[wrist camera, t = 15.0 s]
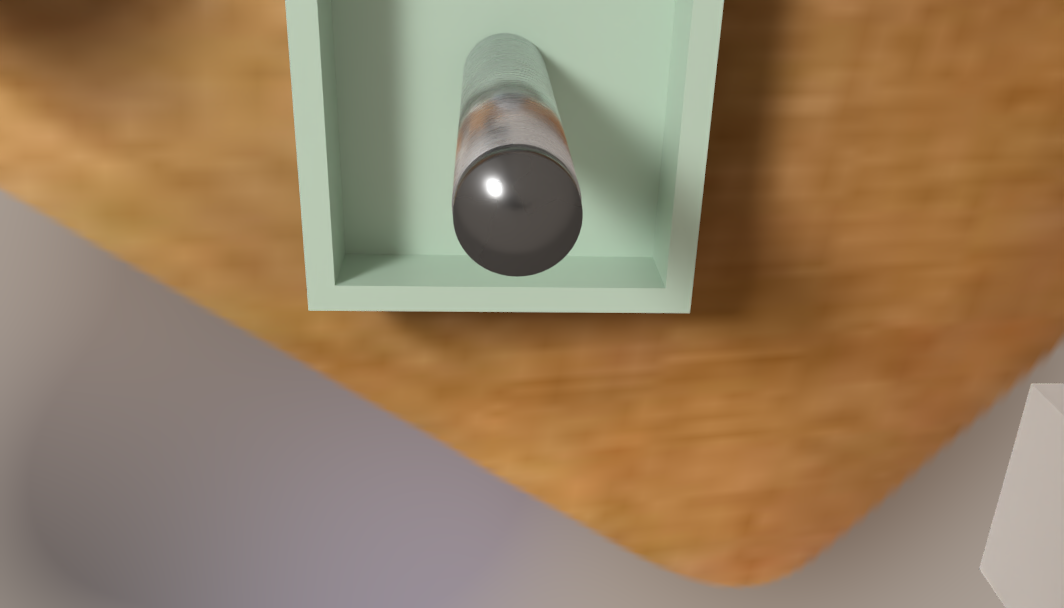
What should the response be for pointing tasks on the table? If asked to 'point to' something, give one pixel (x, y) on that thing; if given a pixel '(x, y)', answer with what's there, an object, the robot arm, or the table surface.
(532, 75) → the dark capped cylinder
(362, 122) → the tray
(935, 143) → the table surface
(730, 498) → the table surface
